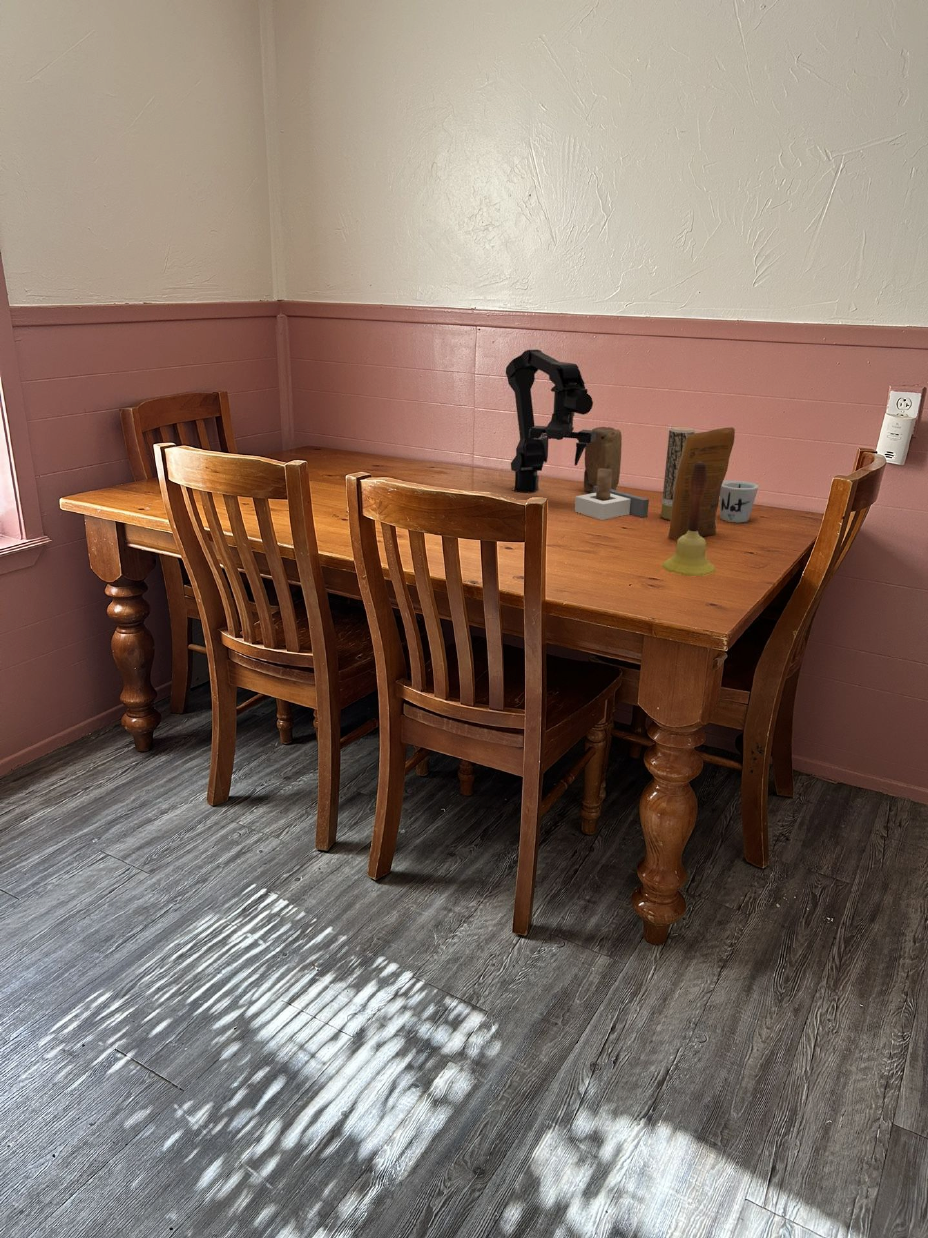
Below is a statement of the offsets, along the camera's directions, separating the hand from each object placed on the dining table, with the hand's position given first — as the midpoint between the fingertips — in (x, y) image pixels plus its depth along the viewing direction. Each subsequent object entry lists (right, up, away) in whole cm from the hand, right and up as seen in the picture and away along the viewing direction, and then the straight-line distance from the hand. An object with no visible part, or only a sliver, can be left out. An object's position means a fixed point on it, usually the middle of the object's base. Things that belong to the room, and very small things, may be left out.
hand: (560, 463), depth 256 cm
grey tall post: (+31, -17, -8) cm, 36 cm away
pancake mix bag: (+33, -23, -25) cm, 47 cm away
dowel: (+11, -15, -4) cm, 19 cm away
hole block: (+11, -15, -4) cm, 19 cm away
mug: (+49, -17, -7) cm, 52 cm away
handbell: (+25, -33, -50) cm, 65 cm away
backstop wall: (+17, -13, -1) cm, 22 cm away
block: (+14, -6, +19) cm, 24 cm away
